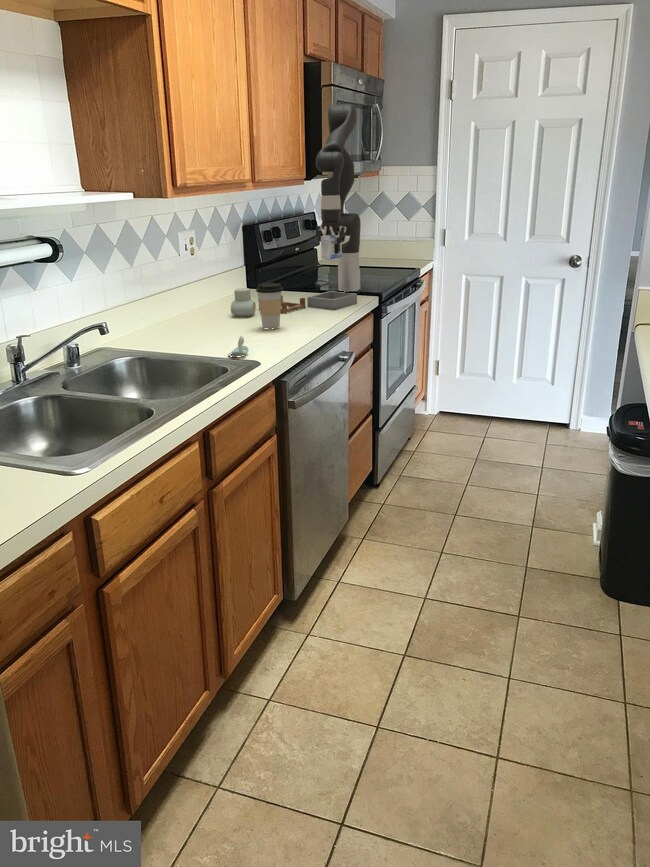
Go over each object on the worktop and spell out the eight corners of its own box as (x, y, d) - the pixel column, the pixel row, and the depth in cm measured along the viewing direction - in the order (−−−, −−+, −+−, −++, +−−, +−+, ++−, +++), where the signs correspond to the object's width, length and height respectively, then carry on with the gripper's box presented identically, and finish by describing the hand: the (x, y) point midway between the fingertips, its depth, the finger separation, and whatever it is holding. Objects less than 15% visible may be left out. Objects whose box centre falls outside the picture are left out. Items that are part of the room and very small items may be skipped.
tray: (330, 300, 297) (330, 290, 295) (357, 303, 289) (356, 293, 288) (307, 307, 285) (307, 297, 283) (334, 310, 277) (333, 300, 276)
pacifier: (225, 359, 212) (245, 359, 212) (223, 339, 210) (242, 338, 209) (231, 353, 219) (250, 353, 218) (228, 333, 217) (248, 332, 216)
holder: (280, 304, 290) (279, 295, 289) (305, 308, 283) (305, 297, 281) (259, 310, 280) (258, 300, 279) (284, 313, 273) (284, 303, 272)
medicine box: (330, 259, 276) (329, 236, 273) (320, 258, 279) (320, 235, 276) (342, 257, 282) (341, 234, 279) (333, 256, 285) (332, 234, 282)
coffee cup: (252, 327, 251) (250, 284, 246) (274, 323, 257) (272, 281, 251) (268, 332, 244) (266, 287, 239) (290, 327, 250) (288, 284, 245)
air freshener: (252, 318, 266) (250, 291, 263) (230, 318, 267) (228, 291, 263) (256, 312, 276) (255, 286, 273) (235, 312, 277) (234, 286, 273)
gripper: (351, 207, 273) (352, 253, 279) (321, 206, 281) (322, 251, 287) (340, 208, 267) (341, 255, 273) (310, 208, 275) (311, 253, 281)
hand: (331, 253), depth 280 cm, fingers closed on medicine box, 4 cm apart
